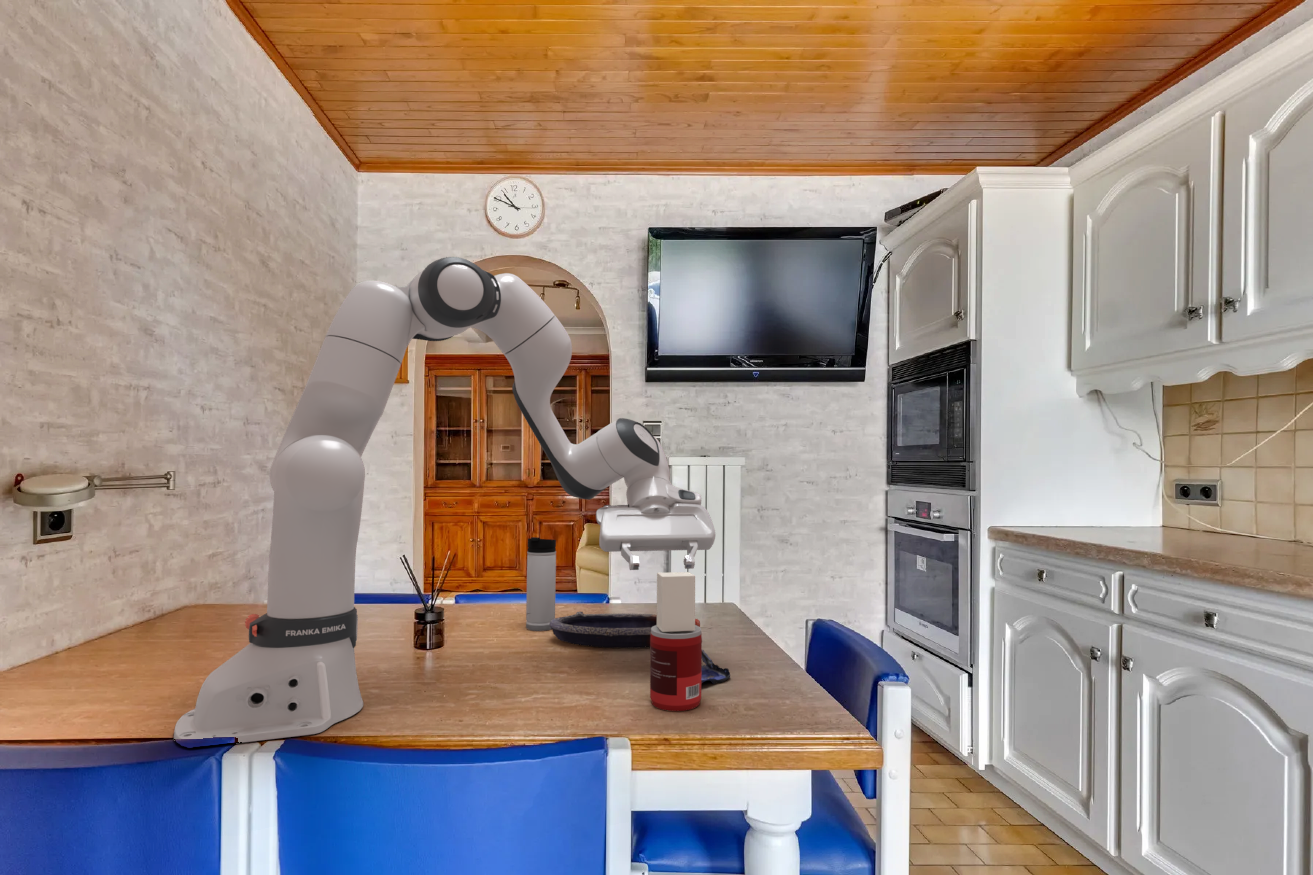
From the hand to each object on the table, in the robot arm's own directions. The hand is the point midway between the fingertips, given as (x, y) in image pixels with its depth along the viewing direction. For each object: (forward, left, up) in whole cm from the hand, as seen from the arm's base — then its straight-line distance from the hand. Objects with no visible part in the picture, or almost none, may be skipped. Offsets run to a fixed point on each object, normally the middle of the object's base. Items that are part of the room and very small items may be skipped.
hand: (662, 567), depth 112 cm
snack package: (+5, -2, -19) cm, 20 cm away
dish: (+7, +25, -19) cm, 33 cm away
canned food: (-4, -10, -19) cm, 22 cm away
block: (-4, -10, -7) cm, 13 cm away
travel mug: (-3, +45, -19) cm, 49 cm away
